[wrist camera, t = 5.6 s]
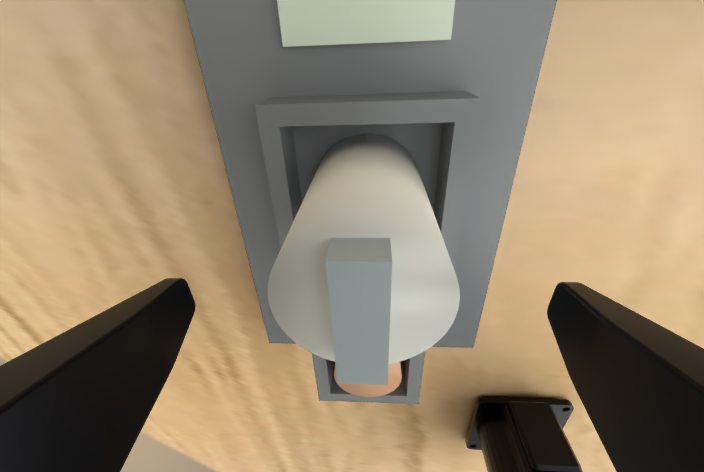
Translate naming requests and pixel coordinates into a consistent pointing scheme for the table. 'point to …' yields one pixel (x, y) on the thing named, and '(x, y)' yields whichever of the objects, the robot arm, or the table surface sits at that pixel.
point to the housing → (373, 121)
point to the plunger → (375, 390)
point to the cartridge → (364, 263)
